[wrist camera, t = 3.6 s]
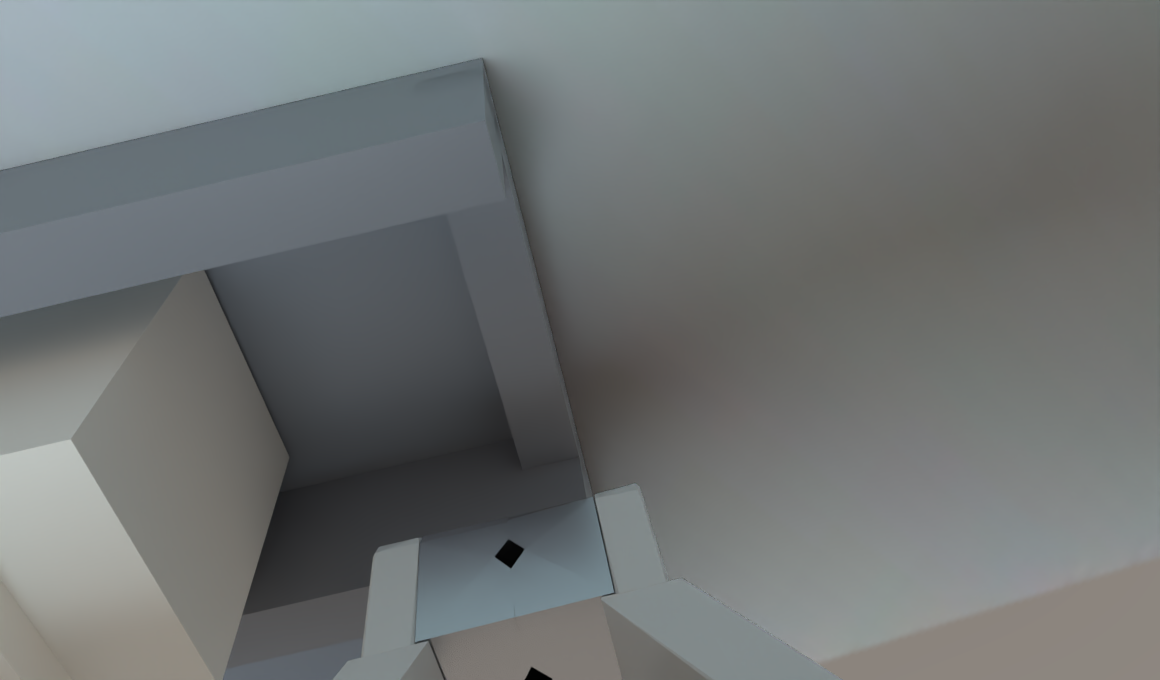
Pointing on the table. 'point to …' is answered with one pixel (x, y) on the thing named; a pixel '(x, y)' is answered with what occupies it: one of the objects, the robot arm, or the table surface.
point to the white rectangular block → (129, 485)
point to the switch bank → (335, 322)
